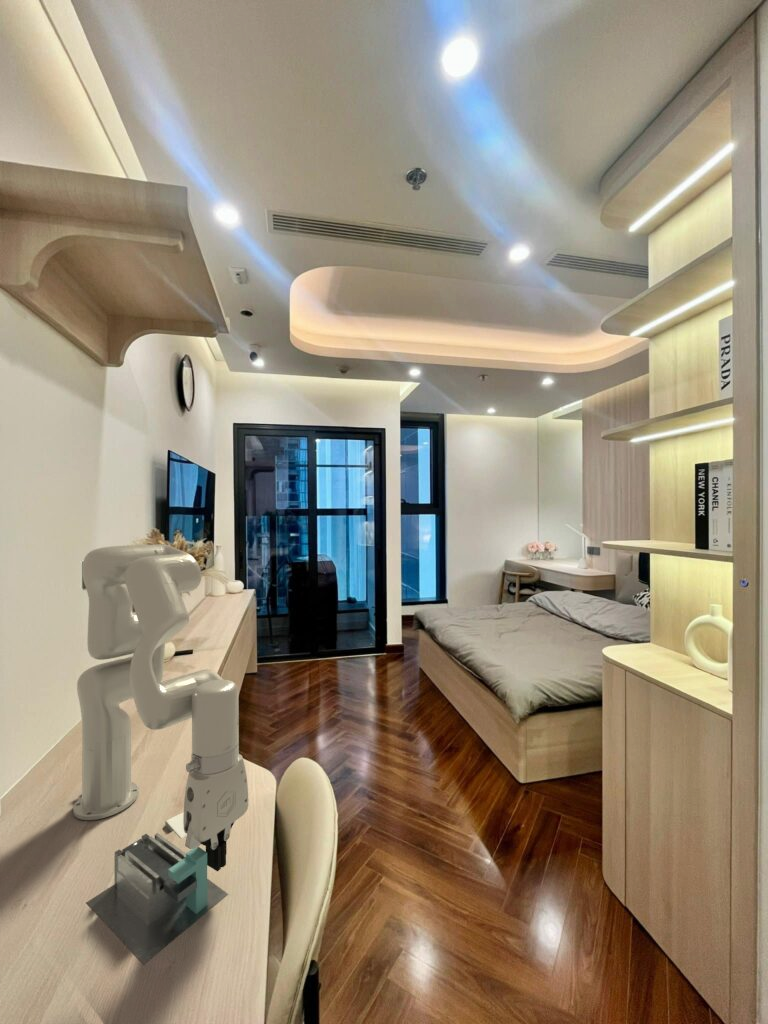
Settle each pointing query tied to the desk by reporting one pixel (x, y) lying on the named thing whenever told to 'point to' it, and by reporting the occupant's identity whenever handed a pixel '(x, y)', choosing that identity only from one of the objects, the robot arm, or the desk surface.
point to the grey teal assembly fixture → (147, 902)
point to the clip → (197, 869)
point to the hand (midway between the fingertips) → (216, 864)
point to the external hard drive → (176, 825)
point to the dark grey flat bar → (162, 871)
